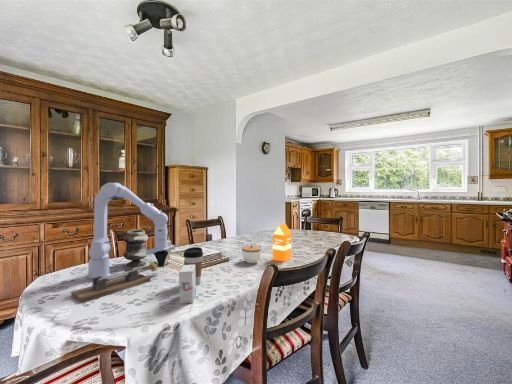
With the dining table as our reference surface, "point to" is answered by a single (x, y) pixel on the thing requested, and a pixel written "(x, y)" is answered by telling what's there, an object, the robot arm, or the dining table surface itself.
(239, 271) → the dining table surface
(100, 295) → the shaft frame
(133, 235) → the apothecary jar
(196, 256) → the coffee cup
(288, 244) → the orange juice
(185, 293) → the ink box
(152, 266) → the shaft
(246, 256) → the lidded jar
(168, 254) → the skincare box
